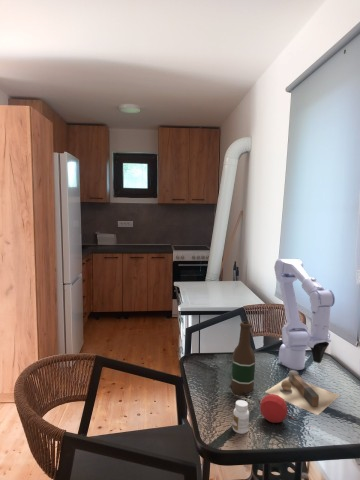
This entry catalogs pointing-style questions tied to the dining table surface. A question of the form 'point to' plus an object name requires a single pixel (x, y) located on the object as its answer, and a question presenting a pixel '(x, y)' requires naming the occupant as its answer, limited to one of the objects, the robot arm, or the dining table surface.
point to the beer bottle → (243, 363)
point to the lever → (304, 388)
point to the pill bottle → (241, 417)
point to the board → (296, 398)
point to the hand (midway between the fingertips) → (317, 361)
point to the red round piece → (273, 408)
